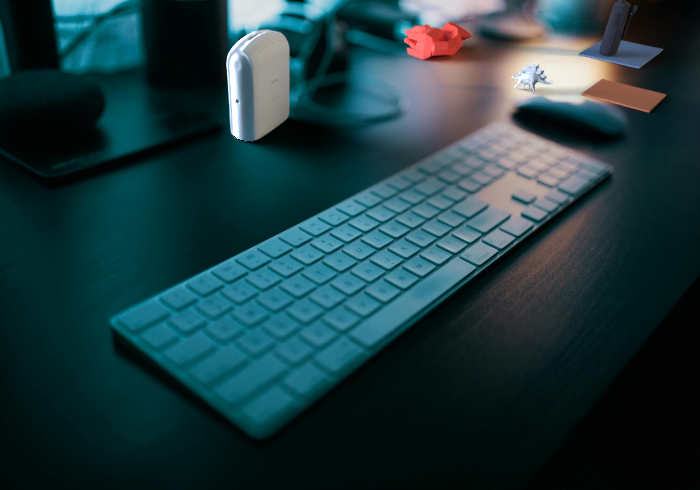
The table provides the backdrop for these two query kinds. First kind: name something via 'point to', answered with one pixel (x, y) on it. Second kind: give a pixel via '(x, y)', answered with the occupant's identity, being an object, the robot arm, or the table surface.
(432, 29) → the animal figurine
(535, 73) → the stegosaurus
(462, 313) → the table surface
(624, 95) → the terracotta mat
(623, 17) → the two-way radio
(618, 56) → the slate mat
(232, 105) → the photo printer
